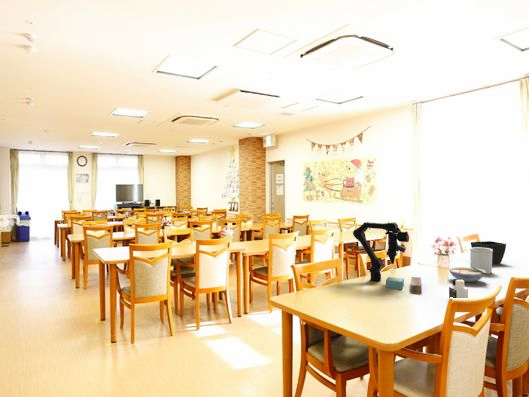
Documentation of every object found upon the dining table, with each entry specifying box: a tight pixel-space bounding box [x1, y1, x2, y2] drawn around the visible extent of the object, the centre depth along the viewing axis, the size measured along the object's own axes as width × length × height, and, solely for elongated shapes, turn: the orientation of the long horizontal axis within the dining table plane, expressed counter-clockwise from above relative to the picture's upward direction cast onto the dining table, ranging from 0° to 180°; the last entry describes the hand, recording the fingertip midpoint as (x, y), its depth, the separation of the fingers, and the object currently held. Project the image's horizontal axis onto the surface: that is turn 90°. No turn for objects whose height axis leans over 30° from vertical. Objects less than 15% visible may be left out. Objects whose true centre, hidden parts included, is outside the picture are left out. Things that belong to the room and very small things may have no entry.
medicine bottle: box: [448, 278, 469, 299], centre depth 209 cm, size 7×7×12 cm
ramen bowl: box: [448, 266, 488, 283], centre depth 251 cm, size 25×23×8 cm
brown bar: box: [410, 276, 423, 294], centre depth 235 cm, size 6×22×5 cm, turn 157°
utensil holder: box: [469, 247, 493, 275], centre depth 275 cm, size 15×15×18 cm
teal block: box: [385, 276, 405, 290], centre depth 241 cm, size 10×10×5 cm
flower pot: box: [470, 240, 507, 265], centre depth 307 cm, size 19×19×17 cm
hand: (392, 263), depth 249 cm, fingers closed
